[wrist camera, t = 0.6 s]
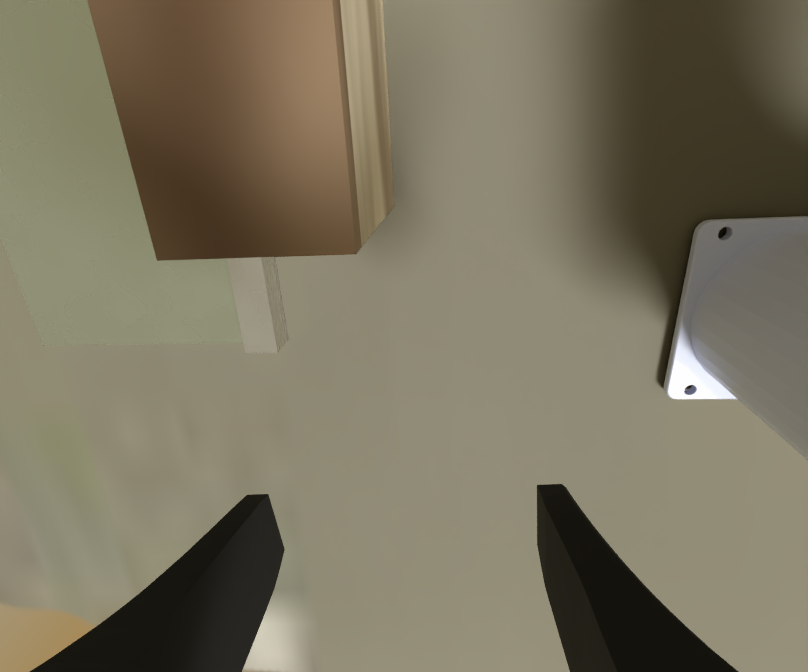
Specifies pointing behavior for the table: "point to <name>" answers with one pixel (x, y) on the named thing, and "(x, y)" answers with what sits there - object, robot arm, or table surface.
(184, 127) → the wooden block
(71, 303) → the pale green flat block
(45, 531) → the table surface
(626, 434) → the table surface
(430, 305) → the table surface
